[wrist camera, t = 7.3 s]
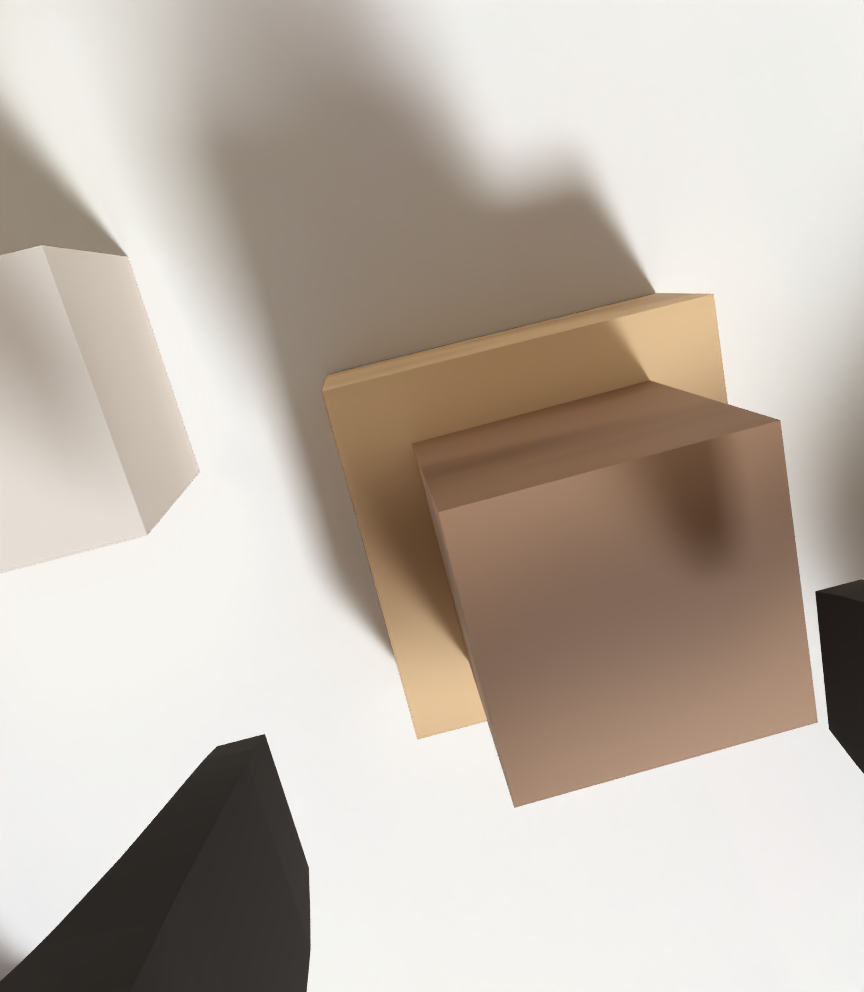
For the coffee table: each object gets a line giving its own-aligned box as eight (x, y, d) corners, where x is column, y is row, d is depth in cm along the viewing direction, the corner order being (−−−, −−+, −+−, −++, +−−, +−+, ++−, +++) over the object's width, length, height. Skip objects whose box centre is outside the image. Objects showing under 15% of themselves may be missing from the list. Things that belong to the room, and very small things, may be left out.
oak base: (702, 597, 21) (759, 649, 18) (408, 675, 20) (417, 739, 17) (656, 293, 18) (713, 294, 15) (326, 375, 18) (321, 390, 15)
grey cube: (200, 470, 18) (147, 535, 14) (-7, 524, 18) (-134, 608, 14) (128, 257, 17) (41, 245, 12) (-96, 312, 17) (-273, 322, 12)
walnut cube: (687, 600, 17) (817, 722, 12) (468, 660, 17) (514, 807, 12) (649, 380, 16) (780, 420, 11) (412, 443, 16) (438, 511, 11)
